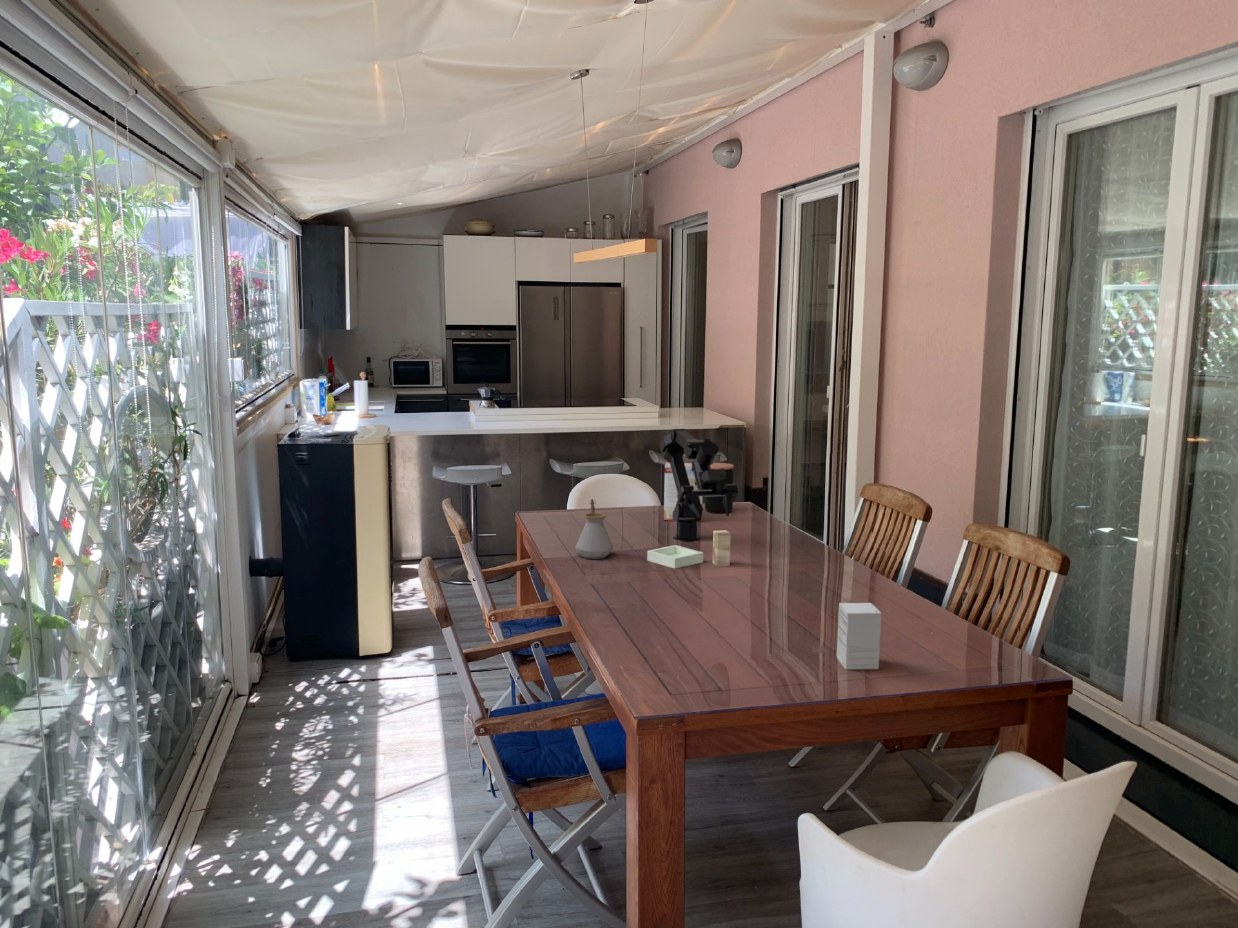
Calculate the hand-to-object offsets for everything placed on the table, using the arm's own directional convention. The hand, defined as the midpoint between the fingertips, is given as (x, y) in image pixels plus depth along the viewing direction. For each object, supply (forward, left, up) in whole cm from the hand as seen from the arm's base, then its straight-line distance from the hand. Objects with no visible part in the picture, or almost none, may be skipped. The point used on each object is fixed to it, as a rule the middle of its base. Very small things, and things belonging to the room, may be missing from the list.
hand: (713, 516), depth 288 cm
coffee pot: (-28, -24, -13) cm, 40 cm away
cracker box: (-45, +32, -13) cm, 57 cm away
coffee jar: (-48, +54, -13) cm, 73 cm away
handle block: (+7, -3, -13) cm, 15 cm away
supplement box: (+82, -40, -13) cm, 92 cm away
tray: (-4, -12, -13) cm, 18 cm away
